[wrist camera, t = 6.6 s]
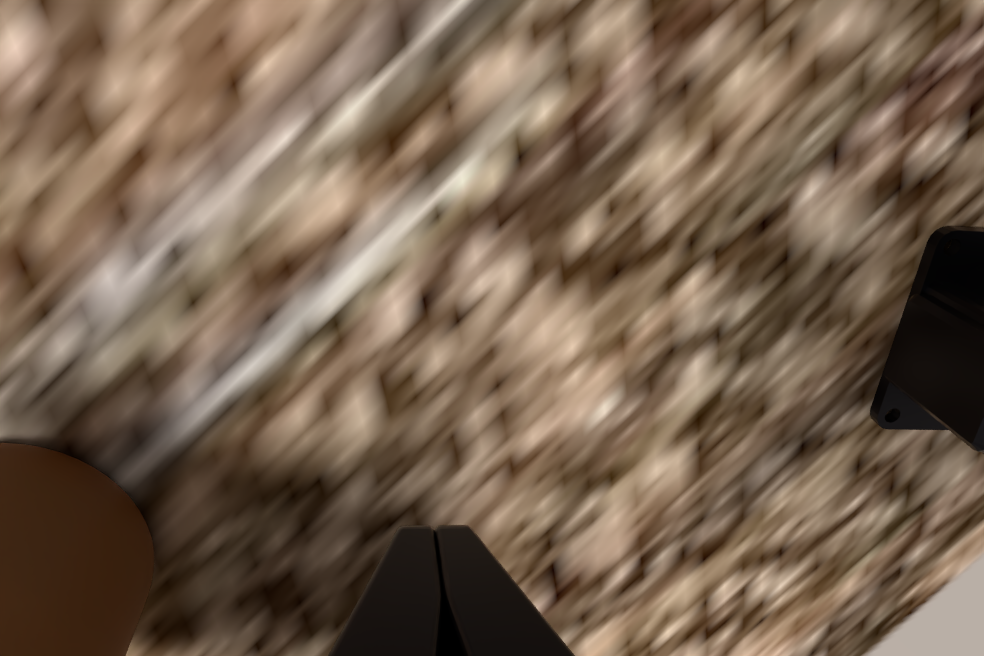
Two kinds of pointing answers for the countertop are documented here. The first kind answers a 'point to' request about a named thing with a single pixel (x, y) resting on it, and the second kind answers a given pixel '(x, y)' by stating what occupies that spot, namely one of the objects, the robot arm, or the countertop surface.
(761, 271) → the countertop surface
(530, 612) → the robot arm
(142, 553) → the mug
